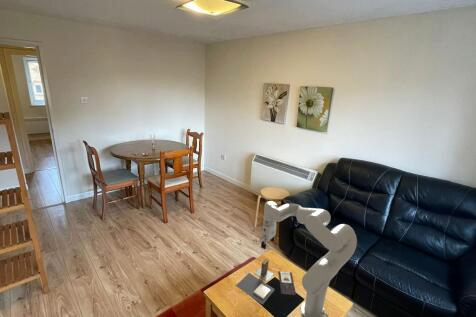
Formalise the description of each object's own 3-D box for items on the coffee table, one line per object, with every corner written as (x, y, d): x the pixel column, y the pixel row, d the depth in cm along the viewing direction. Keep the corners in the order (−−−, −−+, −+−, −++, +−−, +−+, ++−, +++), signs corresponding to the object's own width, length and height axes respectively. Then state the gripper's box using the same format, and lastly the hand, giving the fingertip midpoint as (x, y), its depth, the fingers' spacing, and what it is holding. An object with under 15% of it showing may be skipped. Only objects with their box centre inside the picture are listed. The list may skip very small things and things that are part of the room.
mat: (274, 289, 149) (274, 289, 149) (262, 305, 139) (262, 304, 139) (249, 273, 161) (249, 272, 161) (235, 286, 151) (235, 285, 151)
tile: (261, 285, 152) (270, 291, 148) (253, 293, 146) (263, 299, 142) (261, 283, 151) (270, 289, 147) (253, 291, 145) (263, 298, 141)
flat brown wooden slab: (267, 272, 162) (268, 260, 159) (263, 276, 158) (264, 264, 155) (264, 270, 163) (266, 258, 160) (260, 274, 159) (261, 262, 156)
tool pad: (273, 274, 161) (273, 274, 161) (267, 281, 155) (267, 281, 155) (261, 267, 167) (261, 266, 167) (254, 273, 161) (254, 273, 161)
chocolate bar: (281, 293, 146) (278, 271, 163) (281, 295, 146) (278, 272, 164) (296, 295, 146) (291, 272, 163) (295, 296, 146) (291, 273, 163)
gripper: (267, 229, 139) (265, 254, 144) (281, 217, 152) (279, 240, 157) (256, 224, 143) (254, 248, 149) (271, 213, 156) (269, 235, 161)
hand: (267, 244), depth 153 cm, fingers open, 9 cm apart
